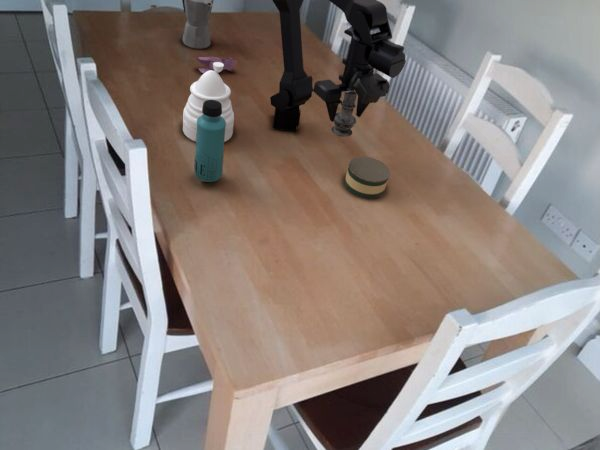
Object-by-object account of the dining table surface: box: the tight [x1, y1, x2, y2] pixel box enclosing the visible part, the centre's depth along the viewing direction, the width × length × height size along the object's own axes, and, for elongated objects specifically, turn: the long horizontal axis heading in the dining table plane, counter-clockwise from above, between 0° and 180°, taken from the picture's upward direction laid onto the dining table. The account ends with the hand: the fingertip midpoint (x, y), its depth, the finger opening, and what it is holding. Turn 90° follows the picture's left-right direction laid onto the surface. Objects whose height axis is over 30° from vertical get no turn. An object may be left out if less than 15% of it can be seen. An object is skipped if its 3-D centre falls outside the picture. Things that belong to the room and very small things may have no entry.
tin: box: [344, 156, 391, 199], centre depth 136 cm, size 10×10×5 cm
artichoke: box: [196, 56, 238, 74], centre depth 170 cm, size 5×4×12 cm
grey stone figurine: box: [331, 91, 358, 138], centre depth 136 cm, size 6×6×12 cm
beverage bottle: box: [193, 100, 226, 183], centre depth 123 cm, size 6×7×20 cm
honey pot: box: [182, 62, 235, 143], centre depth 140 cm, size 13×13×18 cm
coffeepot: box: [181, 0, 214, 50], centre depth 178 cm, size 15×9×18 cm, turn 44°
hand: (344, 118), depth 138 cm, fingers closed on grey stone figurine, 8 cm apart
